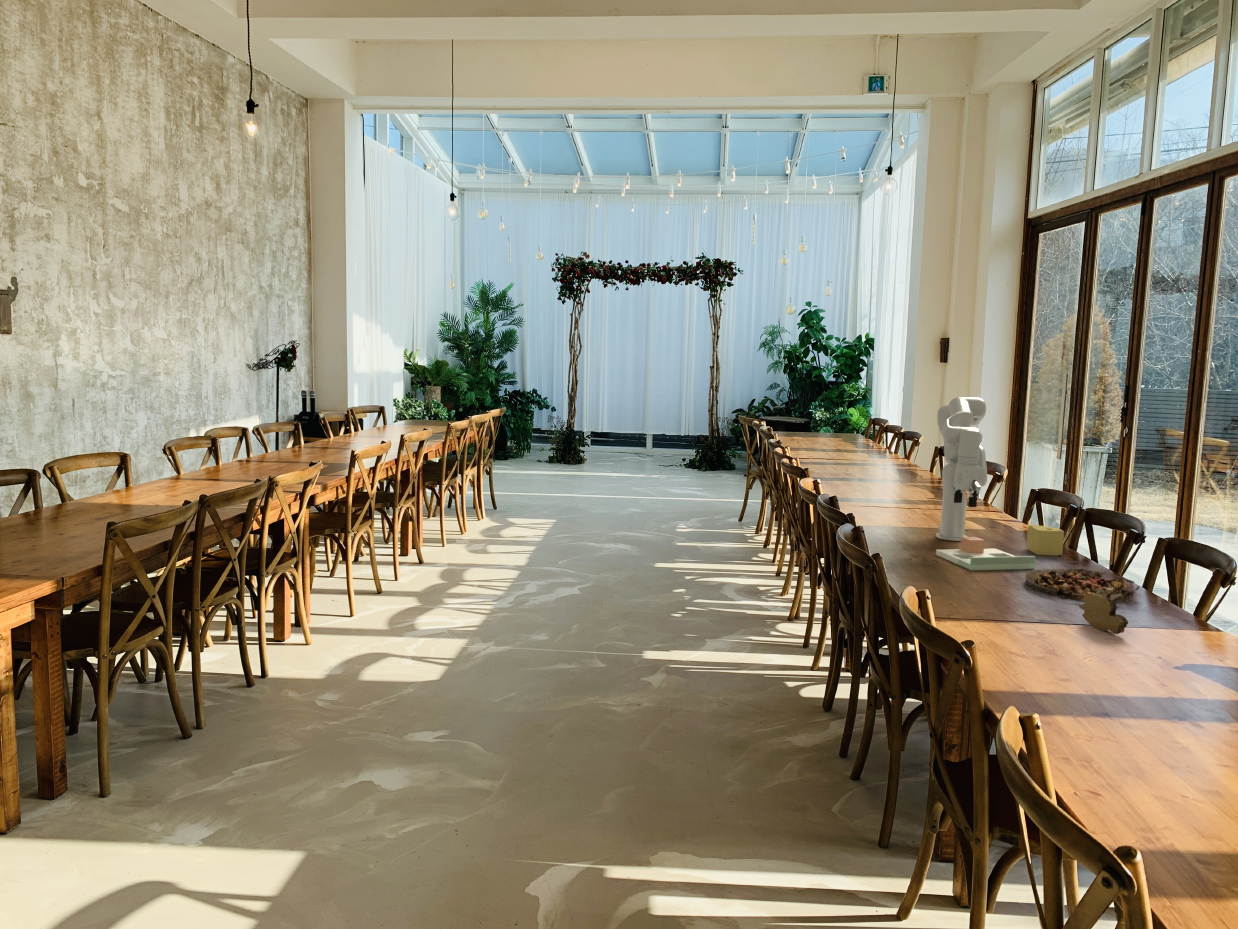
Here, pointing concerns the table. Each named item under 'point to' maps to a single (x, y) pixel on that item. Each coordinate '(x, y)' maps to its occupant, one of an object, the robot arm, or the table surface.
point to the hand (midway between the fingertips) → (964, 504)
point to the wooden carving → (1103, 613)
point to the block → (972, 545)
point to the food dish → (1078, 584)
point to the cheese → (1045, 540)
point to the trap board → (987, 559)
